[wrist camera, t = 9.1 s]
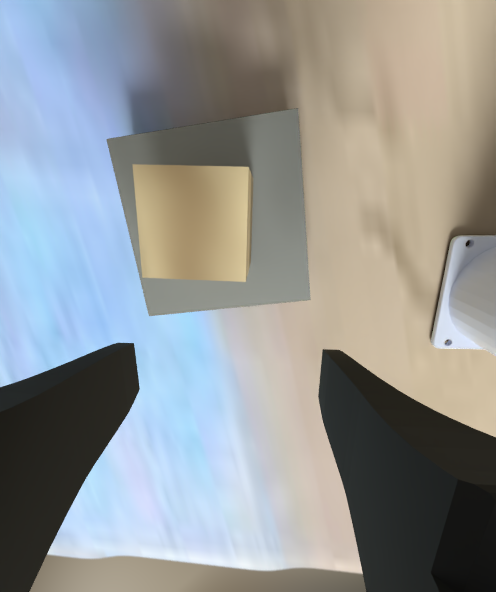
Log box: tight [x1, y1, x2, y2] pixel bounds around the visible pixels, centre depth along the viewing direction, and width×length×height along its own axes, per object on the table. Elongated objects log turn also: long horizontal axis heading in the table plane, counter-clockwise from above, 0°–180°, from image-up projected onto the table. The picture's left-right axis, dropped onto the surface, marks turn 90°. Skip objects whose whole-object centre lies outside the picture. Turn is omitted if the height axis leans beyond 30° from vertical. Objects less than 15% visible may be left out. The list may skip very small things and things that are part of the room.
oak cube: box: [132, 164, 253, 282], centre depth 14 cm, size 4×4×4 cm
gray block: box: [107, 108, 310, 316], centre depth 18 cm, size 10×10×4 cm
